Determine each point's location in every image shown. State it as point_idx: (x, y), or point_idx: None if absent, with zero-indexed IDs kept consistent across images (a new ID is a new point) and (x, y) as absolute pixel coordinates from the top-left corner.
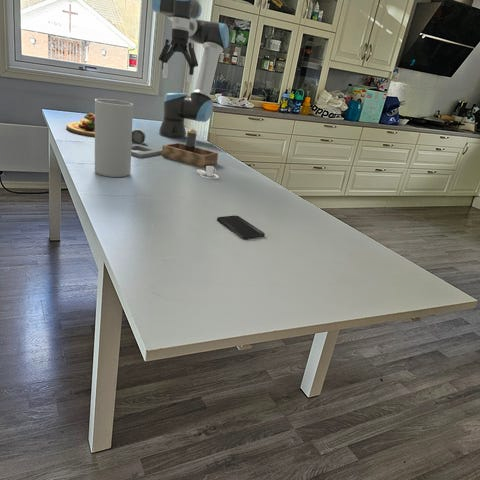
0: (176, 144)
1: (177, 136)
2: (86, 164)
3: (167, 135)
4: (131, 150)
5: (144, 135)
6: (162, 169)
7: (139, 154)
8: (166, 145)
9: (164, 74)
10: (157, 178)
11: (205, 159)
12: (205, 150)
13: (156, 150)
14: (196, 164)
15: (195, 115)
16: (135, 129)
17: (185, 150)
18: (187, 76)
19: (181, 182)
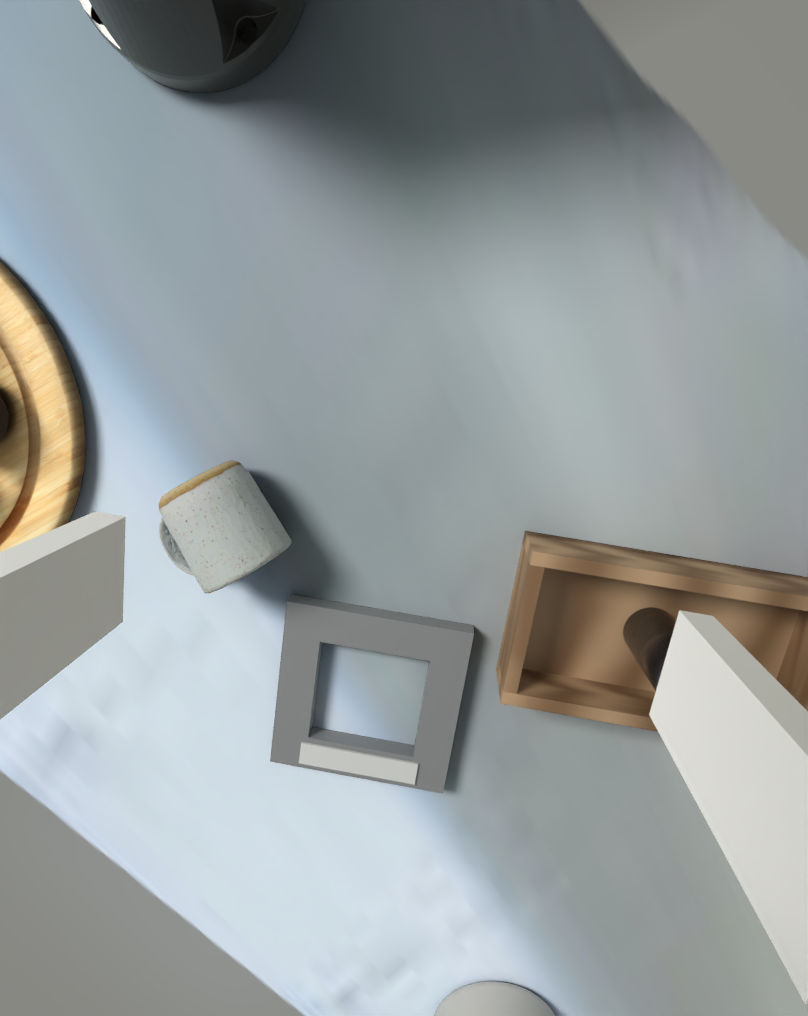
0: (538, 589)
1: (282, 38)
2: (362, 997)
3: (212, 86)
4: (371, 767)
5: (279, 553)
6: (616, 874)
7: (435, 790)
8: (517, 686)
9: (86, 635)
10: (659, 988)
11: None
12: (759, 601)
13: (448, 655)
14: None
15: None
16: (204, 567)
17: (637, 661)
18: (702, 788)
19: (761, 978)
